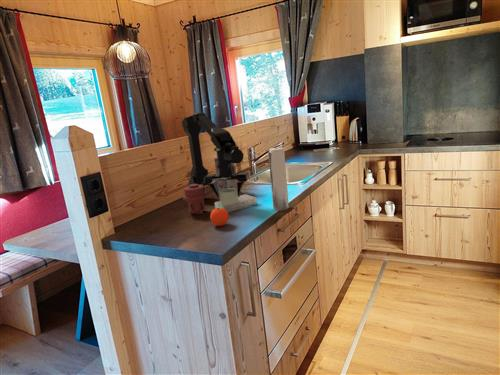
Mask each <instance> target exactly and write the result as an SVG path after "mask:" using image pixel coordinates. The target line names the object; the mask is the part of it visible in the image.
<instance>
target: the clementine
mask: <svg viewBox="0 0 500 375" xmlns="http://www.w3.org/2000/svg"><path fill="white" fill-rule="evenodd" d="M224 208H225V207H224ZM224 208H223V207H218V208H215V207H214V209H212V211H211V212H210V216H209V218H210V221H211V223H212V224H213V225H215V226H216V227H222V226H224V225H226V224H227V223H228V222H229V212H227V211H226V210H227V209H226V210H225V209H224Z"/></svg>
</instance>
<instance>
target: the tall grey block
mask: <svg viewBox="0 0 500 375" xmlns="http://www.w3.org/2000/svg"><path fill="white" fill-rule="evenodd" d="M267 155H268V165H269V167H268V168H269V176H270V187H271V188H270V189H271V197H272V198H271V199H272V207H273V211H277V212H284V211H287V210H289V209H290V205H289V204H290V203H289V194H288V193H289V192H288V179H287V178H288V177H287V169H286V168H287V167H286V159H285V158H286V156H285V150H284V147H273V148H269V151H267Z"/></svg>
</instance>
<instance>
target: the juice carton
mask: <svg viewBox="0 0 500 375" xmlns="http://www.w3.org/2000/svg"><path fill="white" fill-rule="evenodd" d="M213 159H214V166H215V174H216V176H219V168H218V160H217V154H216V155H214V158H213ZM232 164H233V166H234V167H235V163H232ZM234 175H236V174H234ZM222 178H225V177H222ZM230 178H231V177H230ZM216 181H218V184H217V185H218V190H219V191H220V190H222V189H227V188H236V189H237V179H234V180H216Z"/></svg>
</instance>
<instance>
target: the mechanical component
mask: <svg viewBox="0 0 500 375" xmlns="http://www.w3.org/2000/svg"><path fill="white" fill-rule="evenodd" d="M183 190H184V192H183V193H184V194H183V195H182V199H183V201H186V202H187V206H188V211H189V214H190V215H195V214H200V215H201V214H204V210H205V209H206V205H205V199H204V198H206V197H208V194H207V192H206V191H205V192H204V186H203V185H198V184H191V185H189V186H188V185H187V186H185V187H184V188H183Z"/></svg>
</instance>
